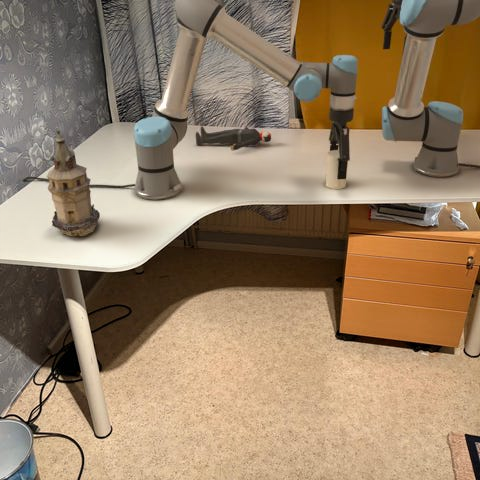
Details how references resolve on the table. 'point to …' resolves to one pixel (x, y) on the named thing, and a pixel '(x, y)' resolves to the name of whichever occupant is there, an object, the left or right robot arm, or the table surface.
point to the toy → (233, 137)
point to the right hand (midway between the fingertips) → (395, 52)
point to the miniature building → (70, 193)
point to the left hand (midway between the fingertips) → (337, 171)
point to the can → (334, 171)
